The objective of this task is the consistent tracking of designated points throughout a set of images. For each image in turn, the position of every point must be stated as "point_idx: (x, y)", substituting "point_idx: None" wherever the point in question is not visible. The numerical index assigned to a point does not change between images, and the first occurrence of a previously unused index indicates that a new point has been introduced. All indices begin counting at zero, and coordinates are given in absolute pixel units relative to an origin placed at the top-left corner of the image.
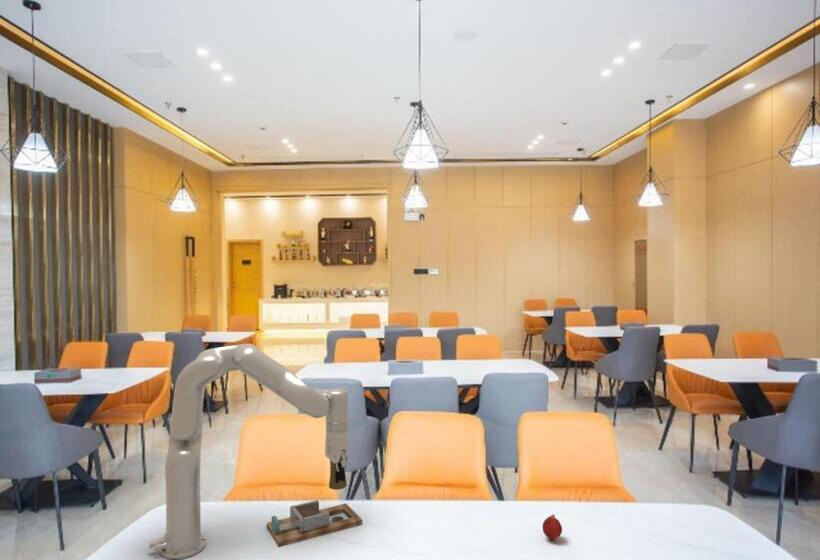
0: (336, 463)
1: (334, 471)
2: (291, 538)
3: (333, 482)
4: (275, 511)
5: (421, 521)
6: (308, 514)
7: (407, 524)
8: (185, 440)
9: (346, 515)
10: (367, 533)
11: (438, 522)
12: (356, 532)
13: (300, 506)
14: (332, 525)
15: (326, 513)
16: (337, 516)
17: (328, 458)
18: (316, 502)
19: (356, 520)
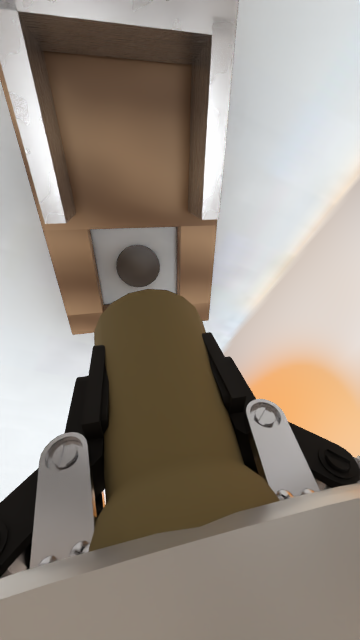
0: (68, 547)
1: (120, 407)
2: None
3: (115, 331)
4: (356, 30)
5: (41, 441)
6: (190, 156)
7: (34, 417)
8: None
9: None
10: (4, 323)
11: (24, 463)
12: (21, 295)
13: (208, 91)
14: (62, 227)
15: (43, 206)
16: (156, 273)
17: (265, 522)
18: (202, 205)
19: (74, 317)
